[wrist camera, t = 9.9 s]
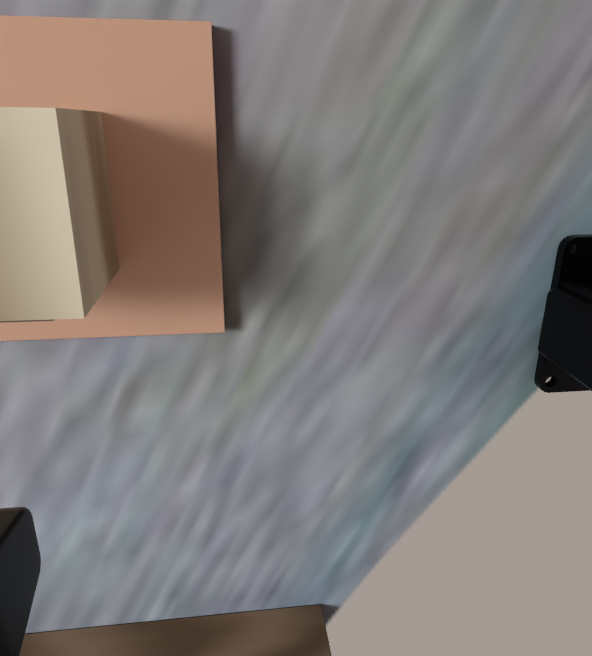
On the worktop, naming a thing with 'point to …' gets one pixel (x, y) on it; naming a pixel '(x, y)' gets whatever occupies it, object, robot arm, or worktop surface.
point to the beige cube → (54, 214)
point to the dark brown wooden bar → (195, 636)
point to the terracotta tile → (135, 162)
